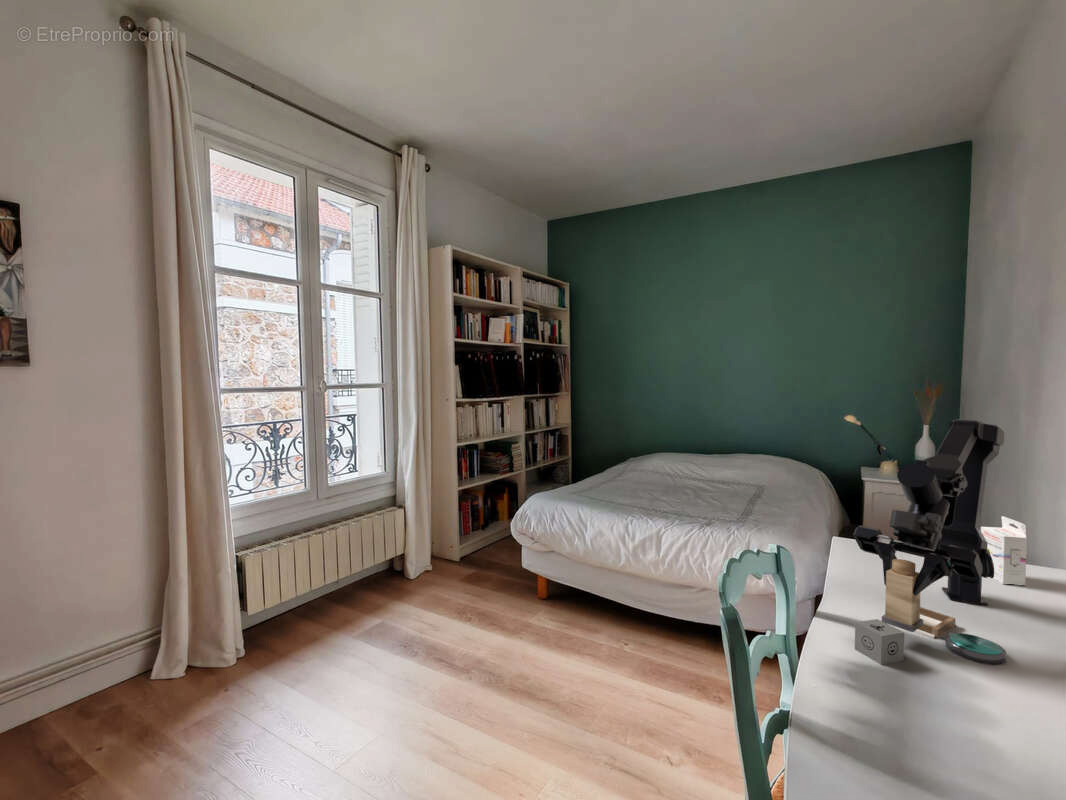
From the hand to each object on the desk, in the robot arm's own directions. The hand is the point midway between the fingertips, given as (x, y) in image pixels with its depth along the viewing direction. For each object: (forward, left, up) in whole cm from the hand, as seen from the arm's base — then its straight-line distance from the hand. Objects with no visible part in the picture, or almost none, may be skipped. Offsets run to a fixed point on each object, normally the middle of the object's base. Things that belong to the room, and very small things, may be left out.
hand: (900, 589), depth 90 cm
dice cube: (+5, -4, -11) cm, 12 cm away
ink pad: (-3, +12, -10) cm, 16 cm away
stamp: (-1, +1, -7) cm, 7 cm away
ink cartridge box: (-49, +30, -11) cm, 58 cm away
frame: (-12, +6, -10) cm, 17 cm away
